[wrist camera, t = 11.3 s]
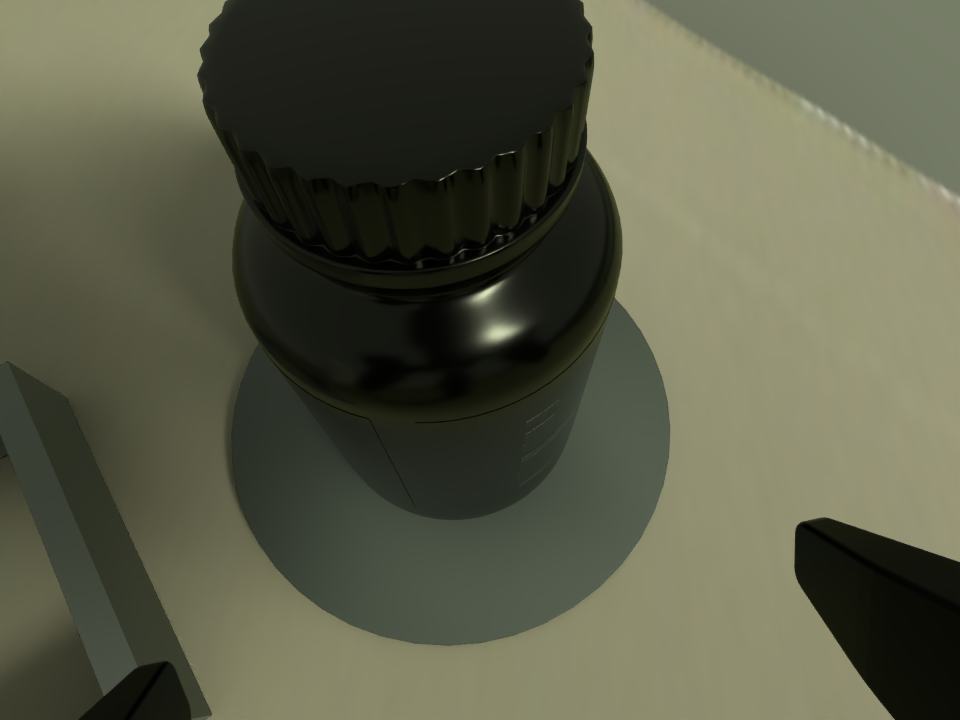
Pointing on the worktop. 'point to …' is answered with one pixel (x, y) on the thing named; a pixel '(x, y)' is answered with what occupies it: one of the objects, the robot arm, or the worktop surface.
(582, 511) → the rubber mat
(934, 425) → the worktop surface
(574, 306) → the supplement bottle
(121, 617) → the square grey tray
